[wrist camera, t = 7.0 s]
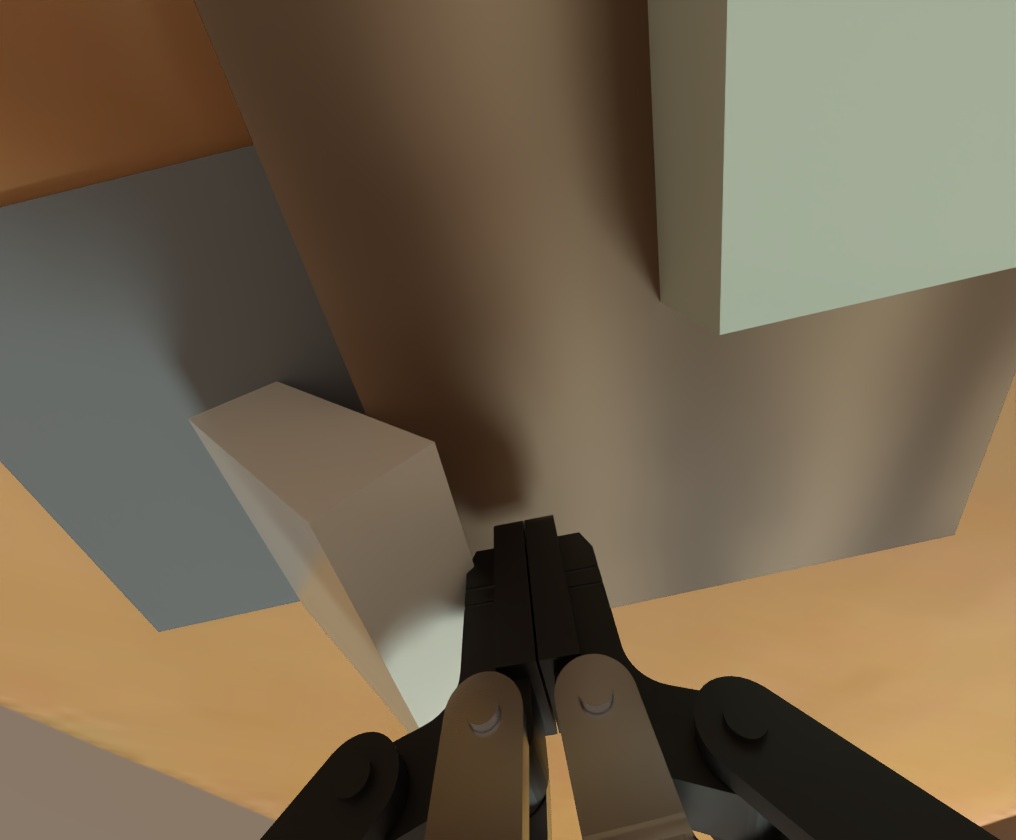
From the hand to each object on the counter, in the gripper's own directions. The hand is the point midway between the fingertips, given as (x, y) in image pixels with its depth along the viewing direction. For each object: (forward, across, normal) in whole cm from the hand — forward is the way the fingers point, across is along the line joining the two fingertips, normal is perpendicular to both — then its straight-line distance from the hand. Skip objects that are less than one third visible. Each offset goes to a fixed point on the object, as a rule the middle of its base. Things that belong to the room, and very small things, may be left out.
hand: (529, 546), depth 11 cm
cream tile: (+2, +4, 0) cm, 4 cm away
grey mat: (+5, +10, -2) cm, 12 cm away
